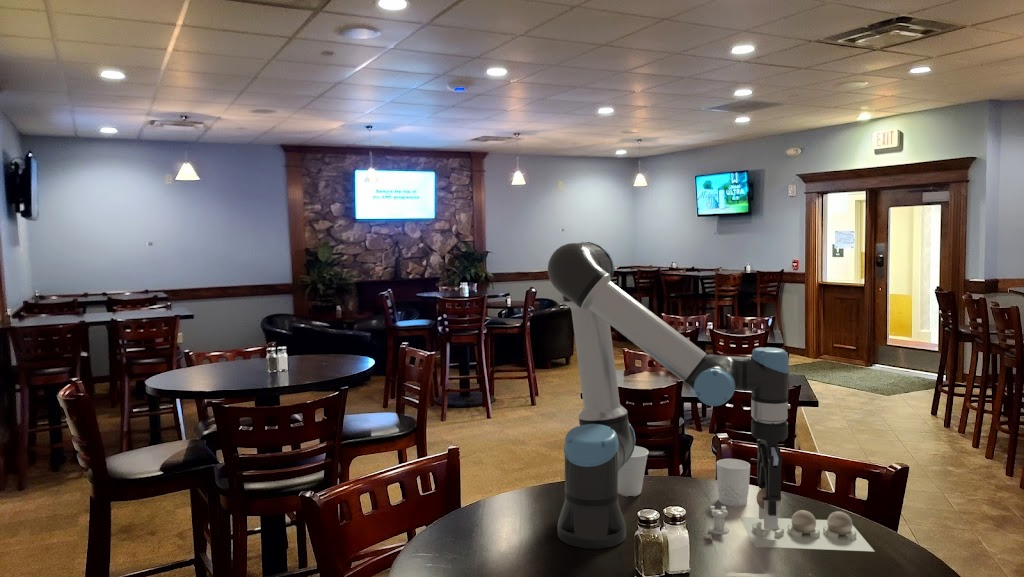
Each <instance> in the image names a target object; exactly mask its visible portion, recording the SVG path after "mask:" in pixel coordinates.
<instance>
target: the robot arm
mask: <svg viewBox="0 0 1024 577" xmlns="http://www.w3.org/2000/svg"><path fill="white" fill-rule="evenodd" d="M549 258H550V259H549V260H548V264H547V276H548V278H549V281H550V283H551V285H552V286H553V287H554V289H556V291H558V292H559V293H560V294H561V295H562V299H563V303H564V305H566V306H567V307H569V308H570V310H571V316H572V317H571V318H572V326H573V333H574V335H573V336H574V342H575V350H576V356H577V358H576V359H577V365H578V373H579V381H580V388H581V396H582V403H583V404H582V405H583V409H582V410H581V412H580V413H579V414H578V422H579V425H578V426H575V427H572V428H570V429H569V430H568V432H567V433H566V434H565V439H564V444H563V453H564V503H563V505H562V508H561V511H560V514H559V518H558V521H557V530H556V531H557V537H558V539H560V540H561V541H562V542H564V543H565V544H568V545H570V546H573V547H576V548H579V549H580V548H581V549H588V550H589V549H592V550H595V549H596V550H597V549H600V550H601V549H606V548H612V547H615V546H618V545H619V544H622V543H623V542H624V541H625V540H626V539H627V525H626V520H625V518H624V516H623V515H624V514H623V512H622V509H621V507H620V504H619V493H618V472H619V470H620V469H621V468H622V466H623V465H624V464H625V463H626V462H627V461H628V459H629V458H630V457H631V455H632V453H633V451H634V447H635V446H636V434H635V430H634V428H633V426H632V425H631V423H630V422H629V421H630V420H629V414H628V410H627V409H626V408H625V407H624V406H623V405H622V404H621V403H620V402H621V401H620V396H619V394H620V393H619V387H618V378H617V369H616V362H615V354H614V346H613V339H612V331H611V327H612V328H614V329H615V330H616V331H617V332H619V333H620V334H621V335H622V336H624V337H625V338H627V340H629V341H630V342H632V343H633V344H634V345H635V346H637V347H638V348H640V349H641V350H642V351H643V352H645V353H646V354H647V355H649V356H650V357H651V358H652V359H654V360H655V361H656V362H658V363H659V364H660V365H661V366H662V367H664V368H665V369H666V370H668V371H669V372H670V373H672V374H673V375H675V376H676V377H677V378H678V379H680V380H681V381H682V382H683V383H685V384H686V385H687V386H689V388H691V389H692V390H693V391H694V393H695V395H696V397H697V399H698V400H699V401H700V402H701V403H703V404H705V405H706V406H709V407H719V406H723V405H724V404H725V403H727V402H729V400H730V399H732V397H733V396H734V393H735V391H741V392H751V398H750V399H751V400H750V401H751V402H750V403H751V405H750V406H751V407H750V409H751V411H750V412H751V414H750V416H751V418H752V419H751V421H750V422H751V423H750V424H751V426H750V431H751V432H750V434H751V436H752V437H753V438H754V439H756V444H757V445H756V447H757V456H756V458H757V459H756V460H757V462H756V463H757V464H756V465H757V466H756V467H757V469H756V482H757V484H758V486H757V487H758V488H759V489H758V492H759V491H760V490H761V489H763V488H766V497H762V499H763V500H764V510H763V509H762V508H761V507H760V506H759V505H758V517H759V519H764V529H778V518H779V507H778V501H781V500H782V467H783V466H782V465H783V464H782V463H783V456H782V455H781V454H782V453H781V447H779V444H778V443H779V442H780V441H785V440H787V438H788V435H789V422H788V421H787V420H788V417H789V414H788V413H789V412H788V410H790V409H791V404H789V385H790V384H789V381H790V369H789V366H790V365H789V364H790V363H789V354H788V352H787V351H786V350H785V349H783V348H779V347H771V346H770V347H769V346H767V347H761V346H760V347H755V348H754V349H752V352H751V355H750V356H734V355H717V354H714V353H713V354H707V353H706V352H705V351H704V350H703V349H701V348H700V347H698V346H697V345H696V344H695V343H693V342H692V341H690V340H689V339H688V338H687V337H685V336H684V335H683V334H681V333H680V332H679V331H677V330H676V329H675V328H673V327H672V326H671V325H669V324H668V323H667V322H666V321H664V320H663V319H661V318H660V317H659V316H657V315H656V314H655V313H654V312H652V311H651V310H650V309H648V307H646V306H645V305H643V304H642V303H641V302H639V301H638V300H636V299H635V298H634V297H633V296H631V295H630V294H628V293H627V292H626V291H625V290H624V289H621V288H620V286H618V285H616V284H615V283H614V282H612V278H613V276H614V270H615V265H614V260H613V258H612V256H611V254H610V253H609V252H608V250H607V249H606V248H604V247H603V246H602V245H599V244H597V243H595V242H590V241H585V242H584V241H582V242H571V243H566V244H562V245H561V246H559V247H558V248H556V250H555V251H554V252H553V253H552V255H551V256H550V257H549Z"/></svg>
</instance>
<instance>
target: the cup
mask: <svg viewBox="0 0 1024 577" xmlns="http://www.w3.org/2000/svg"><path fill="white" fill-rule="evenodd" d="M648 455H649V450H648V449H647V448H645V447H642V446H639V445H638V446H637V445H635V447H634V451H633V453H632V455H631V457H630V458H629V459H628V461H627V462H626V463H625V464H624V465H623V466H622V468H621V469H620V470H619V472H618V495H620V494H621V495H620V496H623V497H628V496H633V497H637V496H639V495H640V494H642V489H643V483H644V478H645V471H646V465H647V460H648Z"/></svg>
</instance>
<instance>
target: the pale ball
mask: <svg viewBox="0 0 1024 577" xmlns="http://www.w3.org/2000/svg"><path fill="white" fill-rule="evenodd" d="M826 520H827V524H828V527H829V529H830V530H831V531H832V532H835V533H838V534H839V535H846V534H848V533H849V532H850V531H851V530H852V526H854V525H853V520H852V518H851V517H850V515H849V514H847V513H846V512H844V511H837V510H836V511H833V512H831V513H830V514H829V515H828V517H827V519H826Z"/></svg>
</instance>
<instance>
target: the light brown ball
mask: <svg viewBox="0 0 1024 577" xmlns="http://www.w3.org/2000/svg"><path fill="white" fill-rule="evenodd" d="M762 497H766V488H763V489H761V488H760V491H759V490H758V492H757V495H756V503H757V504H758V507H759V506H760V507H761V508H762V509H763V510H764V500H763V499H762ZM780 505H781V501H778V508H779V506H780Z"/></svg>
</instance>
